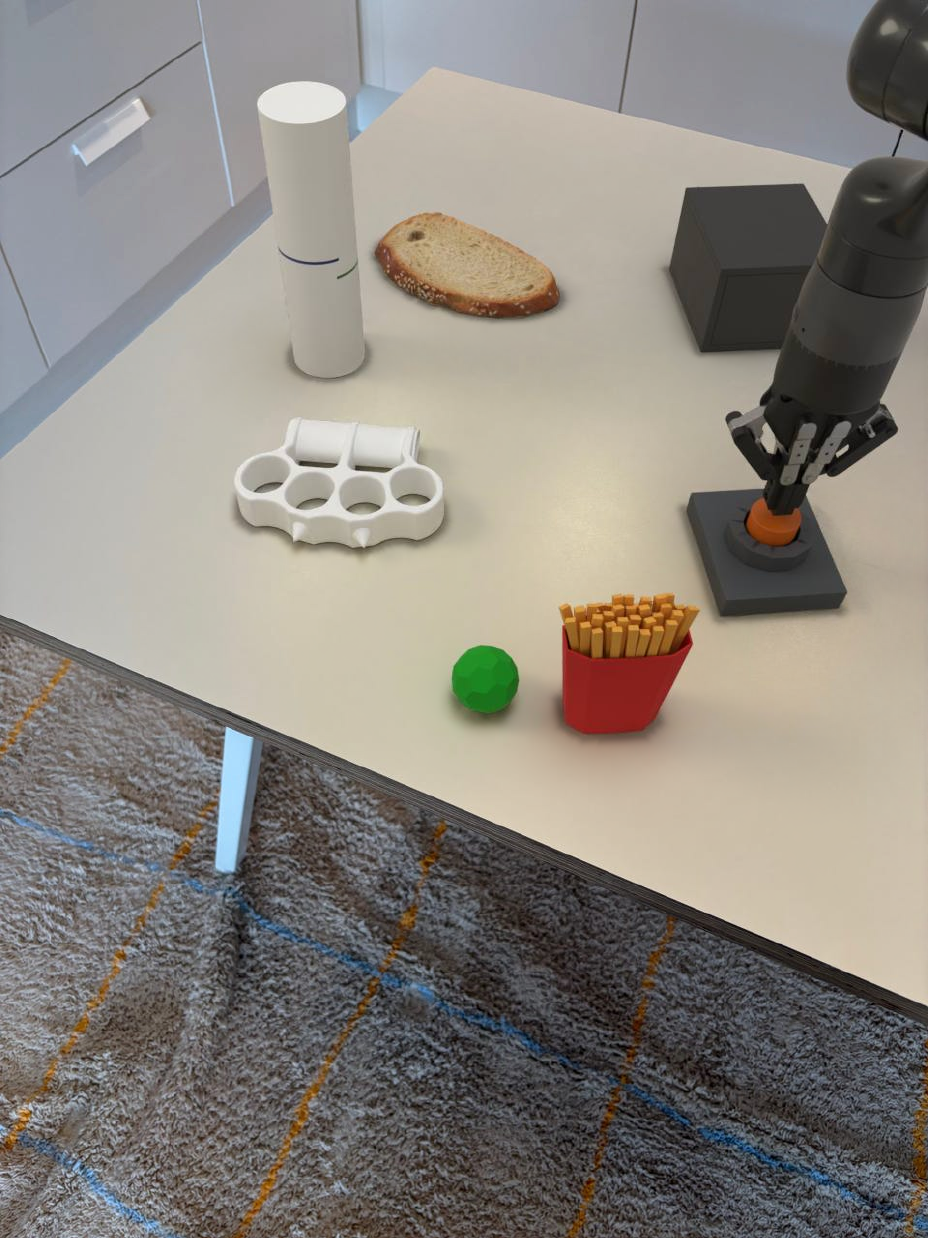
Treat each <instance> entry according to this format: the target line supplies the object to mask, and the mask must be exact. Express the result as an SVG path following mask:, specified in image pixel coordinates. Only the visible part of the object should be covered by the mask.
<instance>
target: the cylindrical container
mask: <svg viewBox="0 0 928 1238" xmlns="http://www.w3.org/2000/svg"><path fill="white" fill-rule="evenodd" d="M256 105H257V106H256V107H257V112H258V113H257V114H258V119H259V127H260V134H261V141H262V148H263V154H264V161H265V167H266V169H265V170H266V175H267V182H268V188H269V189H268V190H269V195H270V203H271V210H272V217H273V223H274V230H275V231H274V232H275V237H276V244H277V251H278V257H279V258H278V259H279V264H280V271H281V272H280V273H281V278H282V286H283V292H284V297H285V298H284V299H285V306H286V313H287V320H288V327H289V334H290V340H291V347H292V355H293V361H294V363H295V365H296V367H297V368H298V369H299V370H300V371H302V372H303V373H305V374H306V375H309V376H311V377H316V378H321V379H334V378H340V377H344V376H347V375H349V374H351V373H353V372H355V371H356V370H358V369H359V368H360V367H361V366H362V364H363V363H364V361H365V357H366V349H365V336H364V335H365V334H364V323H363V322H364V321H363V309H362V295H361V281H360V267H359V266H360V265H359V255H358V242H357V240H358V239H357V227H356V214H355V203H354V189H353V175H352V163H351V160H352V159H351V148H350V134H349V121H348V109H347V98H346V96H345V94H344V93H343V92H342V90H340V89H338V88H337V87H335V86H332V85H330V84H327V83H322V82H318V81H308V80H307V81H306V80H305V81H304V80H303V81H291V82H285V83H281V84H278V85H275V86H273V87H270V88H268V89H267V90H266V91H264V92H262V93H261V95H260V96H259V97H258V99H257V104H256Z"/></svg>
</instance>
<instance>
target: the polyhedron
mask: <svg viewBox="0 0 928 1238" xmlns="http://www.w3.org/2000/svg"><path fill="white" fill-rule="evenodd" d="M519 685H520V673H519V667H518V666H517V664H516V662H515V661H514V659H513V657H511V656H510V654H508V653H507V652H506V651H505V650H504V649H502V648H499V647H497V646H493V645H484V644H479V645H476V646H473V647H471V648H467V650H466V651H465V652H464V653H463V654H461V655H460V657H458V659H457V661H456V662H455V664H454V665H453V666H452V673H451V687H452V692H453V693H454V695H455V696H456V698H457V699H458V701H459V702H460V703H461V704H462V705H463V706H464V707H465V708H466V709H468V710H472V711H474V712H478V713H485V714H493V713H494V712H497V711H501V710H503V709H504V708H505V707H506V706H508V705H509V704H510V703H511V702H512V701H513V699H514V697H515V696H516V694H517V693H518V690H519Z"/></svg>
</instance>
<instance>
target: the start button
mask: <svg viewBox="0 0 928 1238" xmlns="http://www.w3.org/2000/svg"><path fill="white" fill-rule="evenodd" d="M800 523H801V514H800V512H799V510H798V508H795V509H794V512H793V514H792V515H781V516H773V515H772V513H771V510H768V508H767V506H766V503H765V500H764V498H762V499H760V500H758V501H756V502H755V503H754V505H753V506H752V509H751V512H750V515H749V517H748V520H747V529H748V532H749V534H750V535H751V536H752V537H753V538H754V539H755V540H756V541H758V542H760V543H763V544H766V545H769V546H784V545H786V544H788V543H790V542H791V541H792V540H793V539H794V537H795V535H796V533H797V530H798V528H799V526H800Z"/></svg>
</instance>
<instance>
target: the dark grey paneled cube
mask: <svg viewBox="0 0 928 1238" xmlns="http://www.w3.org/2000/svg"><path fill="white" fill-rule="evenodd" d="M827 224H828V222H826V220H825V218H824V216H823V214H822V213H821V211H820V209H819V207H818V205H817V204H816V202H815V200H814V199H813V197H812V195H811V194H810V192H809V190H808V189H807V187H806V185H805V183H780V184H779V183H777V184H750V185H749V184H748V185H720V186H719V185H717V186H695V187H694V186H691V187H690V186H689V187H685V189H684V195H683V199H682V205H681V209H680V215H679V219H678V224H677V228H676V233H675V238H674V243H673V249H672V253H671V257H670V262H669V268H668V270H669V271H668V272H669V273H670V275H671V278H672V280H673V284H674V286H675V288H676V289H675V290H676V291H677V294H678V296H679V299H680V302H681V304H682V307H683V310H684V313H685V315H686V318H687V320H688V322H689V325H690V329H691V331H692V333H693V335H694V338H695V341H696V343H697V346H698V348H699V351H700V352H701V353H705V352H707V353H708V352H731V351H749V350H750V351H751V350H752V351H753V350H768V349H769V350H771V349H782V346H783V343H784V340H785V337H786V334H787V331H788V328H789V325H790V322H791V319H792V314H793V309H794V306H795V305H796V303H797V301H798V298H799V295H800V292H801V289H802V286H803V284H804V281H805V279H806V277H807V275H808V273H809V271H810V269H811V267H812V265H813V263H814V261H815V258H816V256H817V253H818V251H819V248H820V245H821V242H822V239H823V236H824V233H825V230H826V227H827Z"/></svg>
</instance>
